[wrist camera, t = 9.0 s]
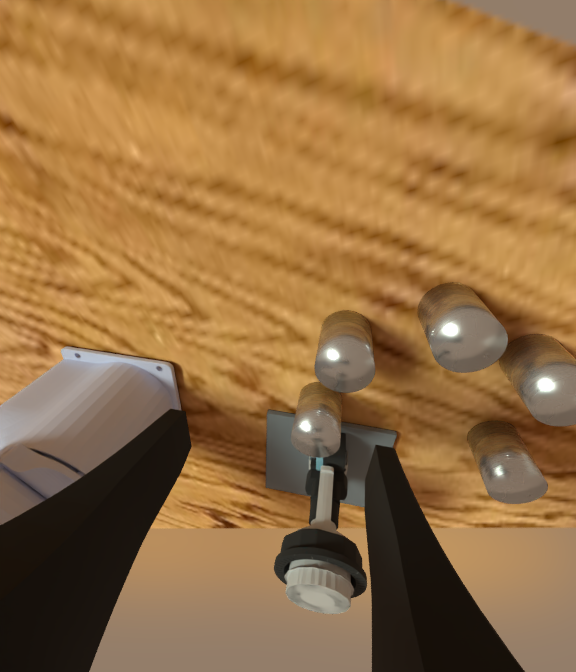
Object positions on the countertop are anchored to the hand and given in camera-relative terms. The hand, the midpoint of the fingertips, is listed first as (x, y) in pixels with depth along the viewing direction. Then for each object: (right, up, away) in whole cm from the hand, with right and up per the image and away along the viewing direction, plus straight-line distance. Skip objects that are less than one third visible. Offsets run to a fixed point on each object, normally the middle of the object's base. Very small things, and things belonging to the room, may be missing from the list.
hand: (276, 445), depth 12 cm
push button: (+4, -6, +14) cm, 16 cm away
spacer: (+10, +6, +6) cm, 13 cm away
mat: (+4, -7, +15) cm, 17 cm away
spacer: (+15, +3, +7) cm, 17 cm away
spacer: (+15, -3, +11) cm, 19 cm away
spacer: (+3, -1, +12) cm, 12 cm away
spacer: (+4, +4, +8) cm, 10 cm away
